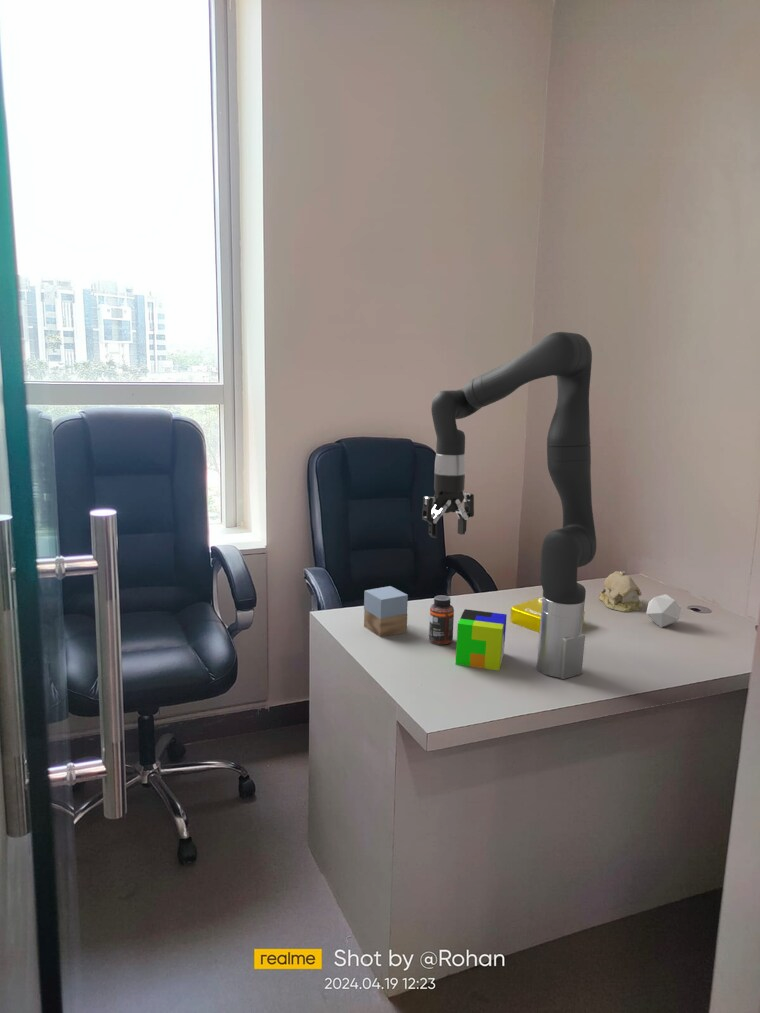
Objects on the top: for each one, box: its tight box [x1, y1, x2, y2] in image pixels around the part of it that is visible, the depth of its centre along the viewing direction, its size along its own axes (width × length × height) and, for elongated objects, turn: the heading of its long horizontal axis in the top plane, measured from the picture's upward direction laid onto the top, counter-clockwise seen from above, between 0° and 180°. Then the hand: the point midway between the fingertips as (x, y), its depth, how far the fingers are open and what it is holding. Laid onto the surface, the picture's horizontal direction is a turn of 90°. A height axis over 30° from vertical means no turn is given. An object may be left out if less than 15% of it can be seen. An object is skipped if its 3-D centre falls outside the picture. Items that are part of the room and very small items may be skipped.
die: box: [645, 593, 682, 628], centre depth 195 cm, size 8×9×10 cm
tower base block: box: [363, 608, 408, 638], centre depth 186 cm, size 8×8×5 cm
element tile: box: [509, 596, 586, 634], centre depth 194 cm, size 15×15×5 cm
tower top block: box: [363, 585, 409, 619], centre depth 185 cm, size 8×8×5 cm
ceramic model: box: [598, 570, 643, 613], centre depth 211 cm, size 14×11×10 cm
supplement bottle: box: [428, 594, 455, 645], centre depth 179 cm, size 6×6×11 cm
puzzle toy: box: [455, 608, 507, 671], centre depth 169 cm, size 10×10×10 cm
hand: (447, 535), depth 182 cm, fingers open, 8 cm apart
